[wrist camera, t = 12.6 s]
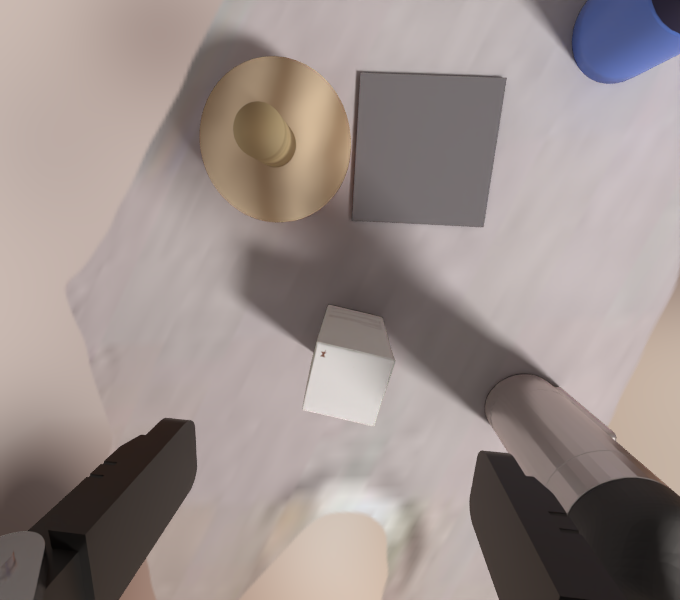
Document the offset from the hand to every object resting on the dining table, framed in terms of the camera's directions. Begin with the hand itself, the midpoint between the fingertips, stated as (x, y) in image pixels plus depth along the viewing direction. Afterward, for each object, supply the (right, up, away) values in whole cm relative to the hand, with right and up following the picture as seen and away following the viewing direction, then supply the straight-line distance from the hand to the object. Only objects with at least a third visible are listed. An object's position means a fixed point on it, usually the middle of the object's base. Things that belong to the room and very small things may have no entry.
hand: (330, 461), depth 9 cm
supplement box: (+1, 0, +33) cm, 33 cm away
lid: (-6, +19, +22) cm, 30 cm away
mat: (+10, +21, +27) cm, 35 cm away
